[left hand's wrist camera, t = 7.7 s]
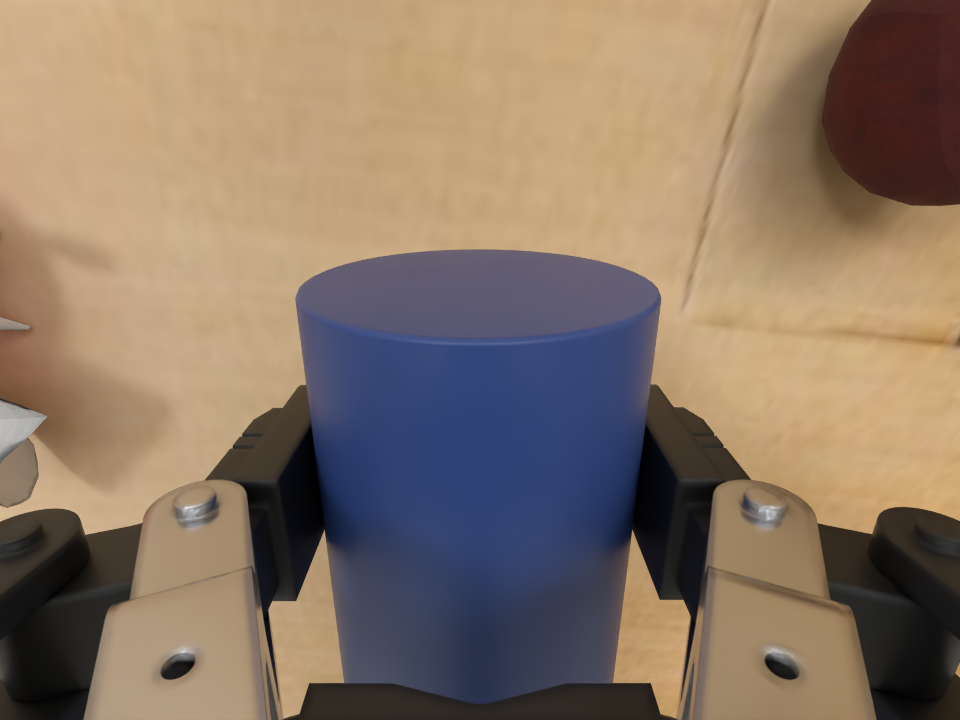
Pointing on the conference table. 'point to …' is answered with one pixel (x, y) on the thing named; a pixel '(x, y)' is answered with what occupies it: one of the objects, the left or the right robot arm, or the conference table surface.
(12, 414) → the fish
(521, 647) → the rod
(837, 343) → the conference table surface
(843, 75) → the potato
